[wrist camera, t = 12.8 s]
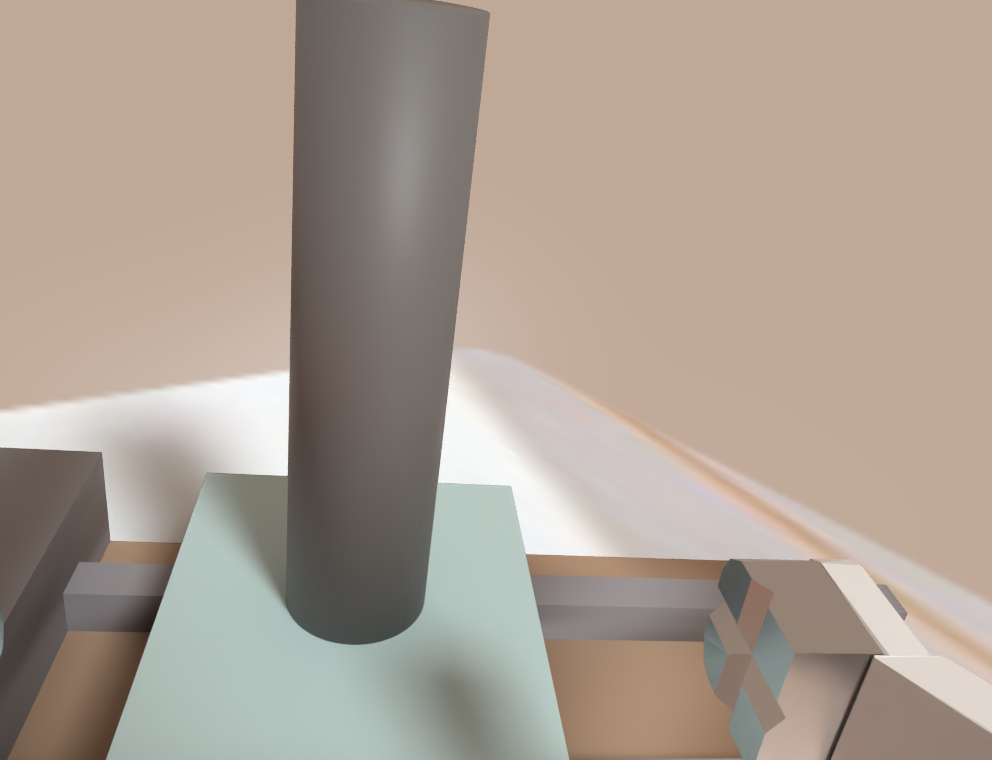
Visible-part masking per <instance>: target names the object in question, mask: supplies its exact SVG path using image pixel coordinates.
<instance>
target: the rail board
mask: <svg viewBox="0 0 992 760" xmlns="http://www.w3.org/2000/svg"><path fill="white" fill-rule="evenodd" d="M181 545H182V543H157V542H126V541H110V532H109V522H108V512H107V502H106V491H105V481H104V471H103V461H102V452H84V451H62V450H41V449H20V448H0V606H1V611H2V617H3V623H4V633H3V649H2V653H1V657H0V760H106V758H107V756H108V753H109V750H110V747H111V744H112V741H113V738H114V736H115V733H116V730H117V727H118V724H119V721H120V718H121V716H122V713H123V710H124V707H125V704H126V701H127V699H128V696H129V693H130V690H131V687H132V684H133V681H134V679H135V676H136V673H137V670H138V667H139V664H140V661H141V659H142V656H143V653H144V650H145V647H146V644H147V642H148V639H149V636H150V633H151V630H152V627H153V624H154V622H155V619H156V616H157V613H158V610H159V607H160V604H161V602H162V599H163V596H164V593H165V590H166V587H167V585H168V582H169V579H170V576H171V573H172V570H173V567H174V565H175V562H176V559H177V556H178V553H179V550H180V547H181ZM526 558H527V563H528V568H529V573H530V577H531V582H532V587H533V591H534V596H535V601H536V605H537V610H538V615H539V620H540V624H541V629H542V634H543V638H544V643H545V648H546V652H547V657H548V662H549V667H550V671H551V676H552V681H553V685H554V690H555V695H556V699H557V704H558V709H559V714H560V718H561V723H562V728H563V732H564V737H565V742H566V746H567V751H568V756H569V760H743V759H742V757H741V754H740V752H739V750H738V748H737V745H736V743H735V741H734V738H733V736H732V734H731V732H730V729H729V724H730V721H731V717H732V714H733V711H734V710H732V709H731V708H730V707H729V706H727V705H726V704H725V703H724V702H722V701H721V700H720V699H719V698H717V697H716V696H715V695H714V692H713V690H712V687H711V685H710V683H709V680H708V677H707V673H706V668H705V664H704V633H705V629H706V625H707V621H708V617H709V615H710V614H711V613H712V612H713V611H714V610H715V609H717V608H718V607H719V606H720V605H721V604H722V603H723V602H724V601H725V599H724V597H723V595H722V593H721V591H720V589H719V587H718V583H719V580H720V577H721V574H722V570H723V568H724V567H725V565H726V564H727V563H728V561H720V560H689V559H657V558H626V557H595V556H563V555H532V554H526ZM877 587H878V588H879V589H880V591H881V592H882V593H883V594H884V596H885V597H886V598H887V600H888V601H889V602H890V604H891V605H892V606H893V608H894V609H895V610H896V611H897V613H898V614H899V615H900V617H901V618H902V619H903V621H904V620H905V618H906V616H907V612H906V611H905V609H904V608H903V607H902V605H901V604H900V603H899V601H898V600H897V599H896V597H895V596H894V595H893V593H892V592H891V591H890V590H889V588H888V587H887V586H886V585H877Z"/></svg>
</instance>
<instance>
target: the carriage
mask: <svg viewBox="0 0 992 760" xmlns="http://www.w3.org/2000/svg"><path fill="white" fill-rule="evenodd" d="M489 18H490V13H489V12H487V11H484V10H481V9H477V8H473V7H468V6H463V5H457V4H452V3H446V2H441V1H434V0H296V42H295V99H294V101H295V102H294V156H293V159H294V160H293V213H292V270H291V273H292V274H291V328H290V329H291V330H290V385H289V443H288V476H272V475H249V474H226V473H206V476H205V479H204V482H203V485H202V488H201V490H200V493H199V496H198V499H197V502H196V505H195V508H194V510H193V513H192V516H191V519H190V522H189V525H188V528H187V530H186V533H185V536H184V539H183V542H182V545H181V547H180V550H179V553H178V556H177V559H176V562H175V565H174V567H173V570H172V573H171V576H170V579H169V582H168V585H167V587H166V590H165V593H164V596H163V599H162V602H161V604H160V607H159V610H158V613H157V616H156V619H155V622H154V624H153V627H152V630H151V633H150V636H149V639H148V642H147V644H146V647H145V650H144V653H143V656H142V659H141V661H140V664H139V667H138V670H137V673H136V676H135V679H134V681H133V684H132V687H131V690H130V693H129V696H128V699H127V701H126V704H125V707H124V710H123V713H122V716H121V718H120V721H119V724H118V727H117V730H116V733H115V736H114V738H113V741H112V744H111V747H110V750H109V753H108V756H107V758H106V760H569V756H568V751H567V746H566V742H565V737H564V732H563V728H562V723H561V718H560V714H559V709H558V704H557V699H556V695H555V690H554V685H553V681H552V676H551V671H550V667H549V662H548V657H547V652H546V648H545V643H544V638H543V634H542V629H541V624H540V620H539V615H538V610H537V605H536V601H535V596H534V591H533V587H532V582H531V577H530V573H529V568H528V563H527V558H526V554H525V549H524V544H523V540H522V535H521V530H520V526H519V521H518V516H517V511H516V507H515V502H514V497H513V493H512V488H511V486H499V485H476V484H453V483H438V476H439V467H440V458H441V449H442V440H443V431H444V422H445V413H446V404H447V395H448V386H449V377H450V368H451V359H452V350H453V341H454V332H455V323H456V314H457V305H458V296H459V287H460V278H461V270H462V269H461V268H462V261H463V251H464V243H465V233H466V224H467V215H468V207H469V198H470V188H471V179H472V171H473V162H474V152H475V143H476V135H477V125H478V116H479V108H480V99H481V90H482V81H483V72H484V62H485V54H486V45H487V36H488V27H489Z"/></svg>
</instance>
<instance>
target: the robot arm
mask: <svg viewBox="0 0 992 760" xmlns="http://www.w3.org/2000/svg"><path fill="white" fill-rule="evenodd" d="M718 587H719V589H720V591H721V593H722V595H723V597H724V599H725V601H724V602H723V603H722V604H721V605H720V606H719V607H718V608H717V609H715V610H714V611H713V612H712V613H711V614H710V615H709V617H708V621H707V625H706V629H705V633H704V664H705V668H706V673H707V677H708V680H709V683H710V685H711V687H712V690H713V692H714V695H715V696H716V697H717V698H719V699H720V700H721V701H722V702H724V703H725V704H726V705H727V706H729V707H730V708H731V709H732V710H734V711H733V714H732V717H731V721H730V724H729V729H730V732H731V734H732V736H733V738H734V741H735V743H736V745H737V748H738V750H739V752H740V754H741V757H742V759H743V760H992V685H990V684H989V683H987V682H985V681H984V680H982V679H980V678H979V677H977V676H975V675H974V674H972V673H970V672H969V671H967V670H965V669H964V668H962V667H960V666H959V665H957V664H955V663H954V662H952V661H950V660H949V659H947V658H945V657H944V656H930V655H929V653H928V652H927V651H926V649H925V648H924V647H923V645H922V644H921V643H920V642H919V640H918V639H917V638H916V636H915V635H914V634H913V632H912V631H911V630H910V628H909V627H908V626H907V625H906V623H905V622H904V621H903V619H902V618H901V617H900V615H899V614H898V613H897V611H896V610H895V609H894V608H893V606H892V605H891V604H890V602H889V601H888V600H887V598H886V597H885V596H884V594H883V593H882V592H881V591H880V589H879V588H878V587H877V585H876V584H875V583H874V581H873V580H872V579H871V578H870V576H869V575H868V574H867V572H866V571H865V570H864V568H863V567H862V566H861V565H860V564H858V563H857V562H855V561H853V560H851V559H810V560H768V559H730V560H729V561H728V563H727V564H726V565H725V567H724V568H723V570H722V574H721V577H720V580H719V583H718ZM3 633H4V623H3V617H2V611H1V606H0V657H1V653H2V649H3Z"/></svg>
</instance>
